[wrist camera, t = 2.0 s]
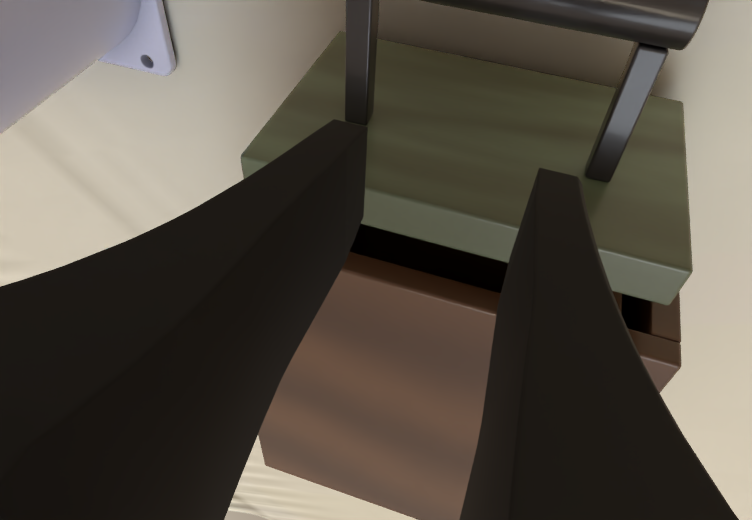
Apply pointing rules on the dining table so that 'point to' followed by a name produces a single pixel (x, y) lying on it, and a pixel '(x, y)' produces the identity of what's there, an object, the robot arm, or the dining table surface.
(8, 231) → the dining table surface
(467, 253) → the drawer
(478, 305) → the cabinet
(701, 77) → the dining table surface
